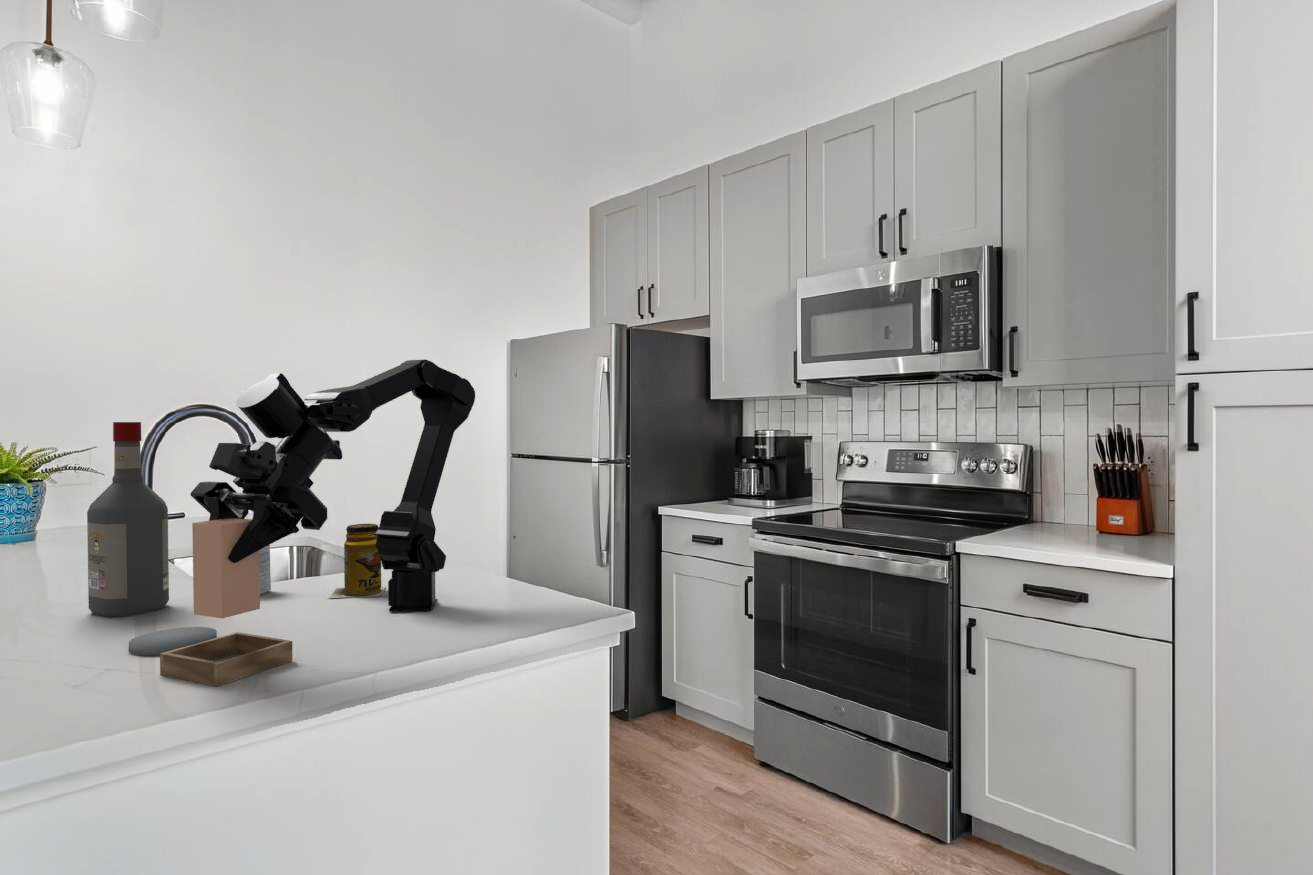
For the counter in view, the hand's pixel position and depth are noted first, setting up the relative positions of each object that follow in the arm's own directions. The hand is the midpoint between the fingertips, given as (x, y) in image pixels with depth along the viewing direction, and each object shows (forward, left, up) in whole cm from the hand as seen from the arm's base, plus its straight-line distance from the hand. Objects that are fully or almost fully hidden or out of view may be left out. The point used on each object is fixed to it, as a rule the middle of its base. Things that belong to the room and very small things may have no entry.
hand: (215, 559), depth 90 cm
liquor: (+28, -33, -14) cm, 45 cm away
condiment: (-5, -41, -14) cm, 44 cm away
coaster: (+11, -12, -13) cm, 21 cm away
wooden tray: (-1, -1, -13) cm, 14 cm away
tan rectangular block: (-1, -1, -7) cm, 7 cm away
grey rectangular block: (+15, -43, -14) cm, 48 cm away
